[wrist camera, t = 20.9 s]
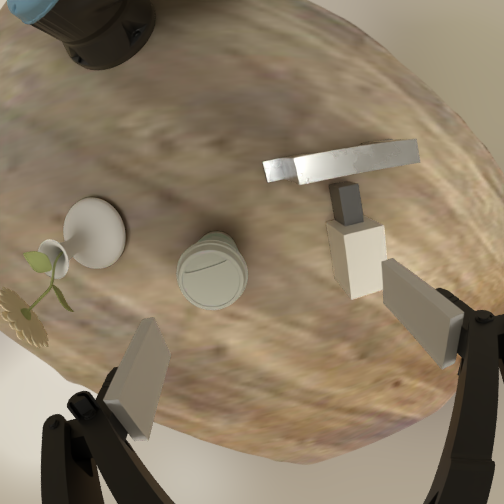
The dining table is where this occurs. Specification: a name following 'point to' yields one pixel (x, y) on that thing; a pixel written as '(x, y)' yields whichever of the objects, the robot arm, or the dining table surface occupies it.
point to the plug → (355, 243)
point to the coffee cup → (212, 272)
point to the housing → (343, 161)
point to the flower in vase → (67, 260)
